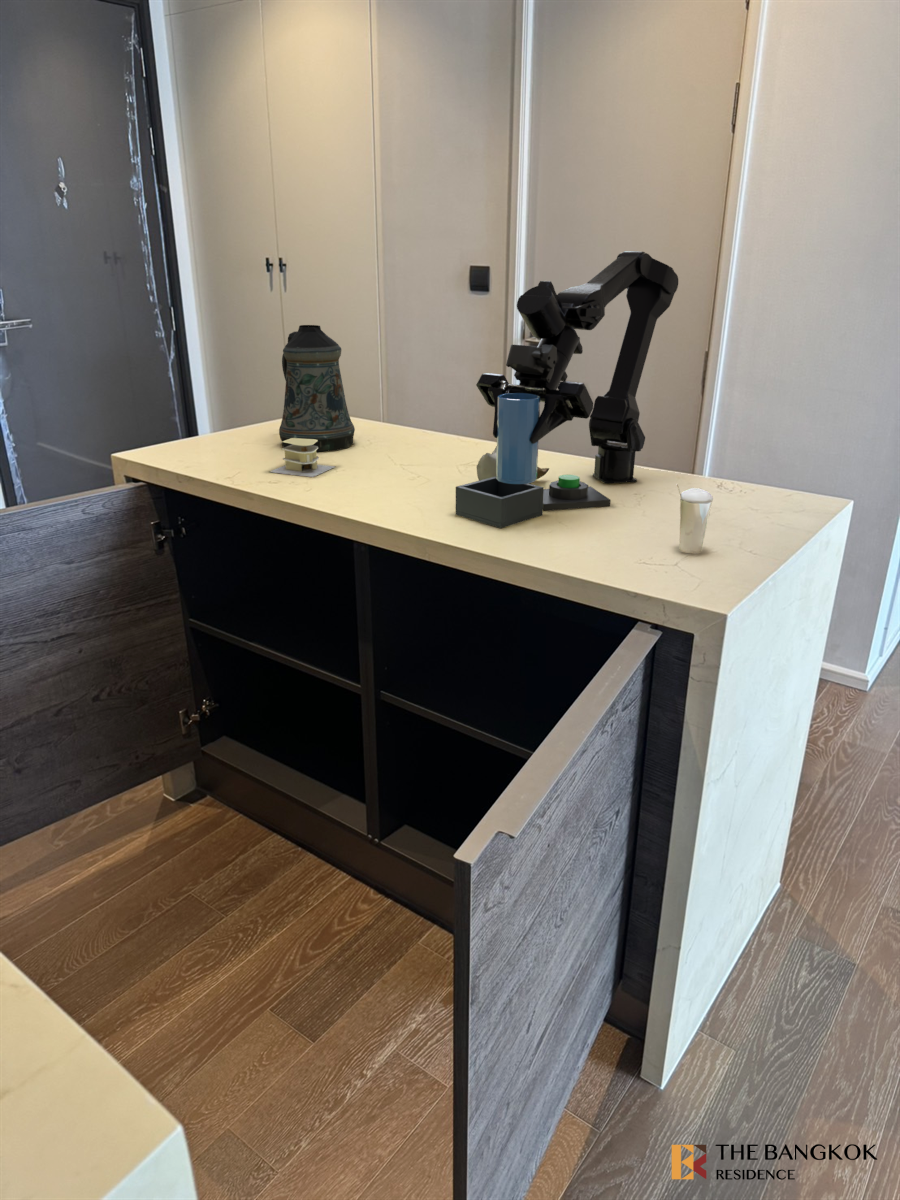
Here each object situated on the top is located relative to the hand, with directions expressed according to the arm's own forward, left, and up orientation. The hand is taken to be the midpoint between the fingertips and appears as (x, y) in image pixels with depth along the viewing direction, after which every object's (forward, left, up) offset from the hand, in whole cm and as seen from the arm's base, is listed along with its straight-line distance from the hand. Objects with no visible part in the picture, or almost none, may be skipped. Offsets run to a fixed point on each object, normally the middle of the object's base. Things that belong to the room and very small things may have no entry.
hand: (512, 439), depth 134 cm
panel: (-13, -9, -13) cm, 21 cm away
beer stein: (+26, -65, -14) cm, 71 cm away
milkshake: (-21, +19, -14) cm, 32 cm away
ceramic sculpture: (-6, -22, -14) cm, 27 cm away
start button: (-13, -9, -11) cm, 19 cm away
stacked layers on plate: (+30, -42, -14) cm, 53 cm away
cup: (-1, -1, -7) cm, 7 cm away
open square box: (+1, -4, -13) cm, 14 cm away
